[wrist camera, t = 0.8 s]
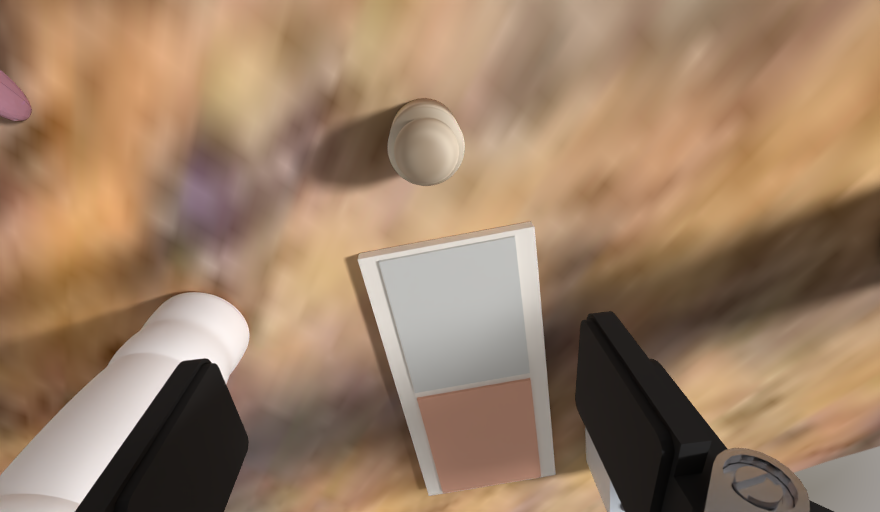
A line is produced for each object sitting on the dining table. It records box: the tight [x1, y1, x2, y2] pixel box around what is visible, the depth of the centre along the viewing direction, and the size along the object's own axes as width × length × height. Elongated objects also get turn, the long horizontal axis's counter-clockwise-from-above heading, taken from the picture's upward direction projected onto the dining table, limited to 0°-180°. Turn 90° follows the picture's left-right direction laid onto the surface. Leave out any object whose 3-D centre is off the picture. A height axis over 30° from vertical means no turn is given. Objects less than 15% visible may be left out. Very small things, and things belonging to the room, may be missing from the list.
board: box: [358, 221, 556, 496], centre depth 37 cm, size 13×28×1 cm, turn 10°
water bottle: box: [0, 292, 249, 512], centre depth 23 cm, size 7×7×25 cm
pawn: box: [388, 98, 465, 186], centre depth 25 cm, size 4×4×7 cm
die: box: [585, 427, 625, 512], centre depth 40 cm, size 6×6×6 cm
